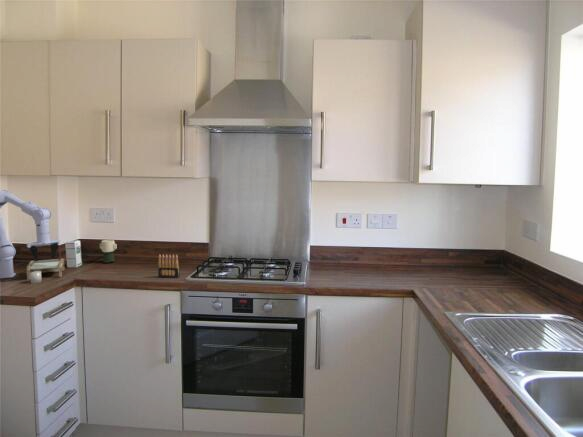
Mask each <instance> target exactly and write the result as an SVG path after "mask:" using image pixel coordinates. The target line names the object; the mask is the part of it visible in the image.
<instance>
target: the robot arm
mask: <svg viewBox="0 0 583 437" xmlns="http://www.w3.org/2000/svg"><path fill="white" fill-rule="evenodd" d="M7 203H9V204H12V205H13V206H16V207H17V208H19V209H20V210H21V212H23V213H24V214H27V215H28V216H30V217H32V219H33V221H34V225H35V233H36V241H34V242H28V243H26V248H28V249H29V250H30V252H31V253H32V256H33V259H34V262H35V261H39V257H38V248H37V247H44V246H50V251H51V260H52V259H55V258H56V254H57V250H58V248H59V246H60V244H61V240H60V239H53V240H52V239H51V232H50V222H49V221H50V220H49V219H51V217H52V212H51V210H50V209H49V208H47V207H46V208H45V207H43V208H42V207H41V206H40V205H39V206H38V205H37V204H34V201H24V200H22V199H21V198H20V197H17V196H16V195H15V194H13V193H12V191H9V190H6V189H1V190H0V209H2V207H3V206H5V205H6V204H7ZM16 252H17V250H16V248H15V247H14V245H13V243H12V241H10V240H8V238H7V233H6V230H5V225H4V222H3V219H2V214H1V213H0V279H10V278H14V277H15V276H16V275H17V274H16V272H15V271H14V260H13V259H14V257H15V255H16Z"/></svg>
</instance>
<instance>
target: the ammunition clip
mask: <svg viewBox="0 0 583 437" xmlns="http://www.w3.org/2000/svg"><path fill="white" fill-rule="evenodd" d="M179 264H180V263H179V256H178V254H173V253H172V255H171V254H169V255H168V254H167V253H166V254H165V255H164V253H162V255H161V253H160V254H159V255H158V278H163V279H164V278H166V279H167V278H169V279H179V278H180V277H181V275H180V267H179Z"/></svg>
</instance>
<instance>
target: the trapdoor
mask: <svg viewBox="0 0 583 437" xmlns="http://www.w3.org/2000/svg"><path fill="white" fill-rule="evenodd" d="M59 262H60V259H59V258H56V259H52V258H51V259H42V260H39V259H38V261H35V260H34V264H33V265H32V266H31V267H30V268H31V269H30V270H32V269H43V268H55V267H58V264H59Z"/></svg>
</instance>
